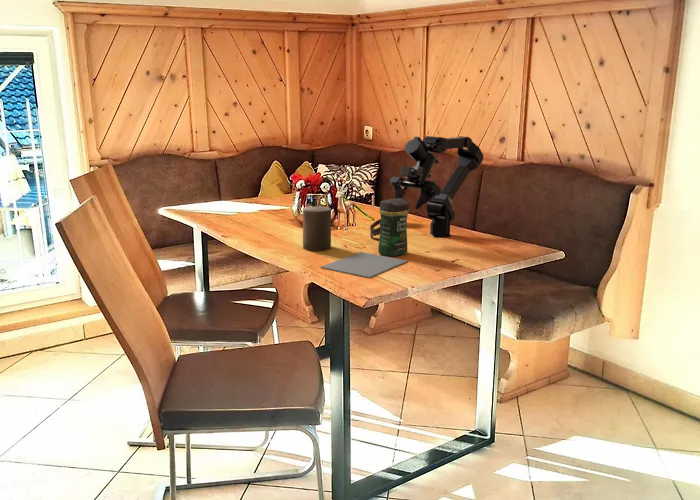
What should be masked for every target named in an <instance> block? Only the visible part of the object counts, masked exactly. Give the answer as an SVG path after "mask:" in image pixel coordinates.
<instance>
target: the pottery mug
mask: <svg viewBox="0 0 700 500" xmlns="http://www.w3.org/2000/svg"><path fill="white" fill-rule="evenodd" d="M377 226H379V227H377ZM376 227H377V228H376ZM380 227H381V218H380V219H379V218H378V219H377V220H375V221H374V222H373V223H372V224H371V225H370V226H369V230H370V232H369V236H370V237H371V239H373V238H374V237H377V236H380Z"/></svg>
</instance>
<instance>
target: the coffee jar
mask: <svg viewBox="0 0 700 500" xmlns="http://www.w3.org/2000/svg"><path fill="white" fill-rule="evenodd" d="M409 204H410V203H409V201H408V199H405V198H402V199H401V198H396V199H395V198H390V199H389V198H388V199H383V200H381V201H380V204H379V214H380V219H381V227H380V226H379V227H380V235H379V238H378V247H377V248H378V253H379V255H381V256H386V257H397V256H402V255H405V254H407V253H408V233H407V232H408V229H407V227H408V225H407V222H408V220H407V219H408V215H409V211H410V207H409Z"/></svg>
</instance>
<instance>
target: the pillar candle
mask: <svg viewBox="0 0 700 500" xmlns="http://www.w3.org/2000/svg"><path fill="white" fill-rule="evenodd" d="M315 205H316V206H306V207H303V209H302V246H303V247H302V248H303V249H305V250H306V251H311V252H312V251H313V252H318V251H320V252H321V251H323V252H325V251H328V250H330V249H331V248H332V208H330V207H327V206H326V207H325V206H318V204H315Z"/></svg>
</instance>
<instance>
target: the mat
mask: <svg viewBox="0 0 700 500" xmlns="http://www.w3.org/2000/svg"><path fill="white" fill-rule="evenodd" d="M408 261H409V260H406V259H400V258H395V257H392V256H384V255H381V254H374V253H369V252H363V251H359V252H357V253H355V254H352V255H349V256H346V257H343V258H341V259H338V260H335V261H332V262H330V263H327V264H325V265H321V266H320V269H324V270H327V271H333V272H338V273H342V274H343V273H344V274H347V275H351V276H352V275H353V276H356V277H362V278H365V279H370V278H374V277H376V276H378V275H380V274H383V273H385V272H387V271H390V270H392V269H395V268H396V267H399V266H402V265H403V264H406V263H408Z"/></svg>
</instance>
